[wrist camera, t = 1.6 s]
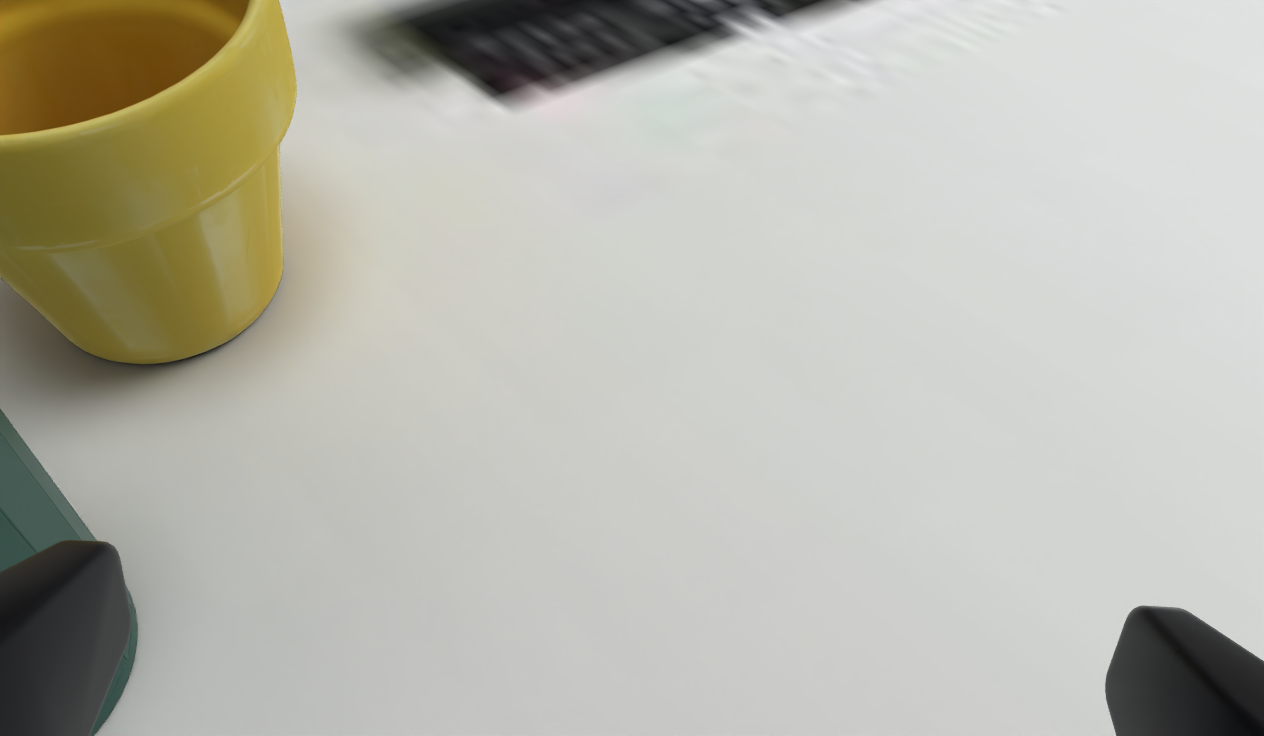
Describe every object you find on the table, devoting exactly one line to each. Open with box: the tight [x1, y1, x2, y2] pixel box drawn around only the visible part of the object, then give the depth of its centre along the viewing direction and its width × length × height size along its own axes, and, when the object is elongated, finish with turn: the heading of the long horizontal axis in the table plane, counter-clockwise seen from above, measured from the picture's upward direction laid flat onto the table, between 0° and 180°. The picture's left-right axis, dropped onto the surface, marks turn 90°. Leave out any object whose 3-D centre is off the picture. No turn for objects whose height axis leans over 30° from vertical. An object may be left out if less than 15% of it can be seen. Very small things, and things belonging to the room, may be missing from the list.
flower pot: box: [0, 0, 297, 364], centre depth 28 cm, size 10×10×10 cm
